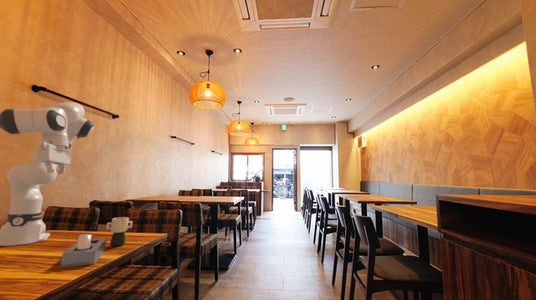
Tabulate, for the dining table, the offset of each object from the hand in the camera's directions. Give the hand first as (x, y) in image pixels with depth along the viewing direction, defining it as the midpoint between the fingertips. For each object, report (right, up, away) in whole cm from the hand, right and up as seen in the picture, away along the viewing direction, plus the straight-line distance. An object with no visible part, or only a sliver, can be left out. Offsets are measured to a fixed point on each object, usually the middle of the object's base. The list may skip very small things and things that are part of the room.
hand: (56, 173), depth 100 cm
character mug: (+20, -37, +11) cm, 44 cm away
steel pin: (+21, -34, -11) cm, 41 cm away
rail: (+19, -34, -7) cm, 40 cm away
